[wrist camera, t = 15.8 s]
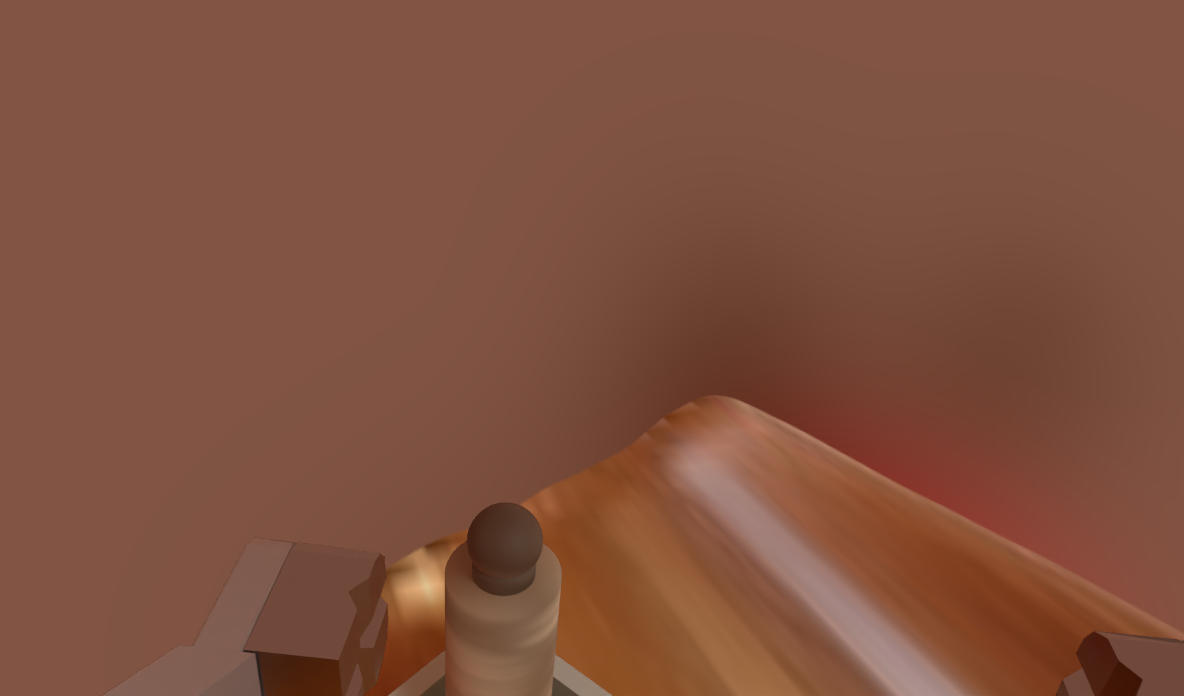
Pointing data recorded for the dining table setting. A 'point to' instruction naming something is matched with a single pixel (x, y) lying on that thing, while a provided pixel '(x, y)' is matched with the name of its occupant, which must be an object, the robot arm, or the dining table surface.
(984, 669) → the dining table surface
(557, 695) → the box
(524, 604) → the pepper mill
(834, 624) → the dining table surface
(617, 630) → the dining table surface
